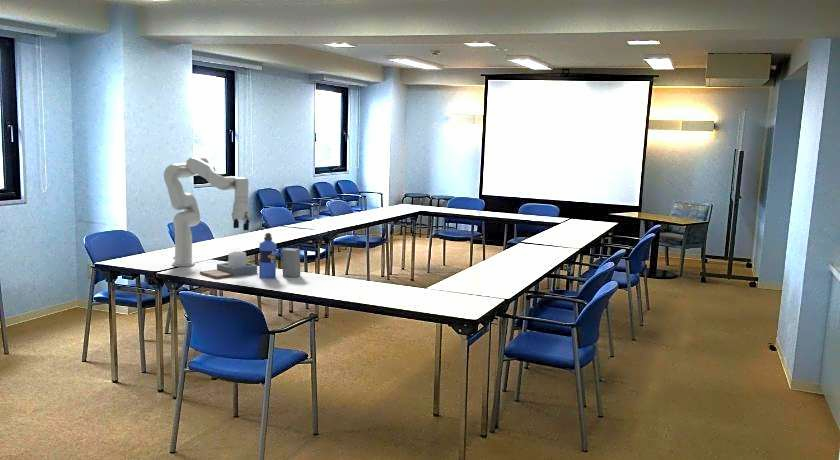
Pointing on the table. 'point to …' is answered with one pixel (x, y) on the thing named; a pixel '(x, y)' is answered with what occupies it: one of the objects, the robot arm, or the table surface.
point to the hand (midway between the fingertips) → (241, 229)
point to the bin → (238, 269)
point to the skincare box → (291, 262)
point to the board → (216, 274)
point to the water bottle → (267, 258)
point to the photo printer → (237, 259)
